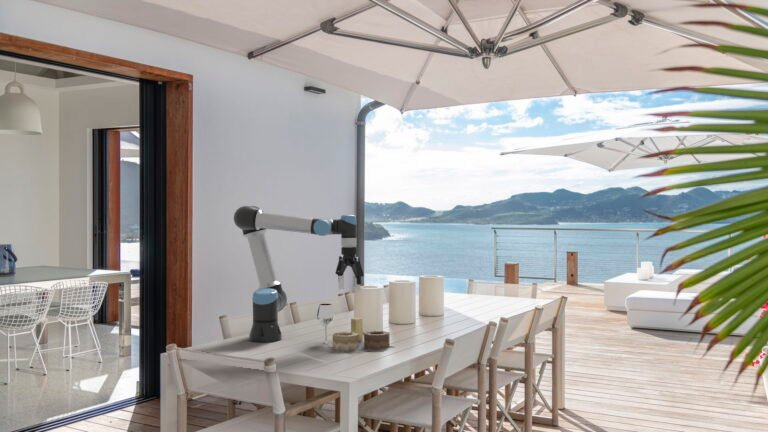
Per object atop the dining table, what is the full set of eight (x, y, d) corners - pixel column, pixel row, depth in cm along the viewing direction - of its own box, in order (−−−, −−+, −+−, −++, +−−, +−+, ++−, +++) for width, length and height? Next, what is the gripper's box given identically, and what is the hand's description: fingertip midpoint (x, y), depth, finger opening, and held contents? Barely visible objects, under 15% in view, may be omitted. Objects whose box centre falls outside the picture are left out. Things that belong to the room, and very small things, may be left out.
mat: (350, 355, 278) (350, 354, 278) (327, 348, 293) (327, 347, 293) (396, 348, 292) (396, 347, 292) (372, 342, 307) (372, 340, 307)
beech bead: (341, 351, 284) (341, 337, 283) (328, 347, 292) (328, 333, 292) (362, 348, 290) (362, 334, 290) (349, 344, 298) (349, 331, 298)
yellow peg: (355, 343, 304) (355, 319, 304) (351, 342, 307) (350, 318, 307) (362, 342, 306) (362, 318, 306) (358, 341, 309) (357, 317, 309)
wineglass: (320, 346, 298) (320, 306, 298) (314, 343, 305) (313, 304, 305) (337, 344, 302) (337, 304, 302) (330, 341, 309) (330, 302, 309)
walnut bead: (374, 350, 286) (373, 336, 286) (360, 346, 295) (360, 332, 295) (393, 347, 292) (393, 333, 292) (379, 343, 301) (379, 330, 301)
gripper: (370, 247, 317) (371, 291, 317) (340, 245, 337) (341, 287, 337) (358, 247, 313) (358, 292, 313) (328, 246, 332) (328, 288, 332)
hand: (349, 290), depth 325 cm, fingers open, 13 cm apart
